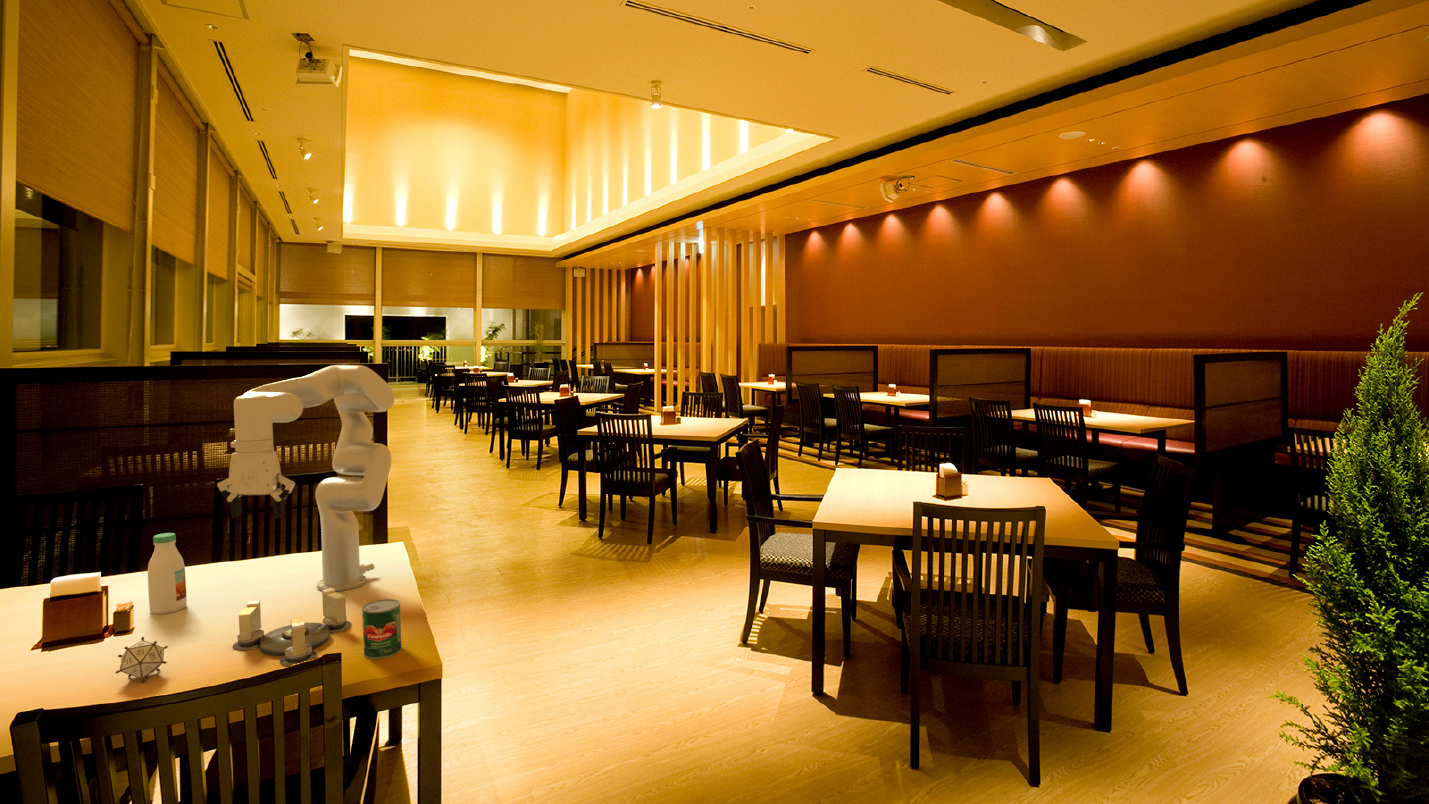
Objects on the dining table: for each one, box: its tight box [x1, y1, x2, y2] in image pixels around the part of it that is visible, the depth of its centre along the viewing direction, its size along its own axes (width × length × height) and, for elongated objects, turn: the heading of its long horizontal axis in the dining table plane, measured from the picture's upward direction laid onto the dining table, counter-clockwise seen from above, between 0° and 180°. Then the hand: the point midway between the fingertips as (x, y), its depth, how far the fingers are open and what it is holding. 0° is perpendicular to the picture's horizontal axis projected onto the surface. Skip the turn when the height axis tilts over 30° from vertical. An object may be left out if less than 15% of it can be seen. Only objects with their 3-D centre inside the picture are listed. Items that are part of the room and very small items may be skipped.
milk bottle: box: [147, 532, 188, 615], centre depth 182 cm, size 8×8×20 cm
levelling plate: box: [232, 620, 352, 667], centre depth 166 cm, size 22×24×4 cm
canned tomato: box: [361, 598, 403, 660], centre depth 159 cm, size 8×8×11 cm
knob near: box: [321, 588, 348, 629], centre depth 172 cm, size 7×5×8 cm
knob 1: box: [236, 600, 265, 646], centre depth 162 cm, size 7×5×8 cm
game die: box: [115, 636, 169, 683], centre depth 146 cm, size 9×8×10 cm
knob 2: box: [284, 616, 313, 662], centre depth 155 cm, size 7×5×8 cm
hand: (257, 516), depth 168 cm, fingers open, 9 cm apart
